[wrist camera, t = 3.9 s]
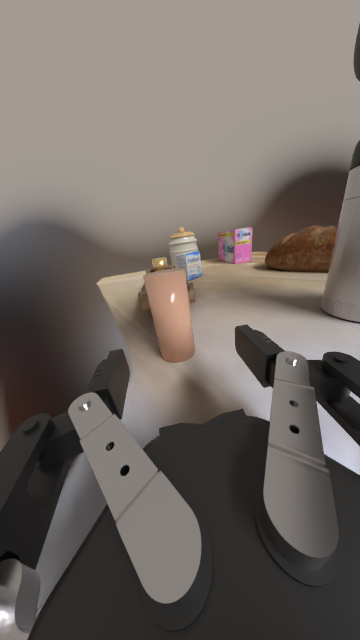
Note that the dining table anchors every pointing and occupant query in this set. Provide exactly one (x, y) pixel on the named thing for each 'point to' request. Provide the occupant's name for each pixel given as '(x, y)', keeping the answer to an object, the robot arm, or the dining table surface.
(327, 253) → the bread
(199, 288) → the dining table surface
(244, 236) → the gum box
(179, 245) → the jar
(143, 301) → the beam
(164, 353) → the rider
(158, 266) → the brass weight
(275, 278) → the dining table surface
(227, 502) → the robot arm
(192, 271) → the medicine box
